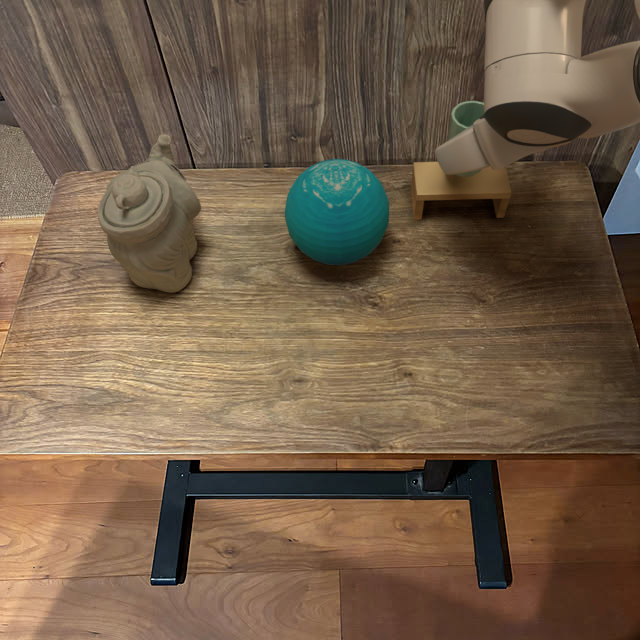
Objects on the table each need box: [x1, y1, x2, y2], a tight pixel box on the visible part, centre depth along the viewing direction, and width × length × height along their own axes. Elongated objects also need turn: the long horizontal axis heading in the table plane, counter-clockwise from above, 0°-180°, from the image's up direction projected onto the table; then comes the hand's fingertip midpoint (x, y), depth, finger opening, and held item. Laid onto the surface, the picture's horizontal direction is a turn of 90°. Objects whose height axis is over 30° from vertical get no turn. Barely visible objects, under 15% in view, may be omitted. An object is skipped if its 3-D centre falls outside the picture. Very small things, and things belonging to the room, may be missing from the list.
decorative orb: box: [284, 158, 390, 266], centre depth 89 cm, size 15×15×15 cm
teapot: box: [97, 133, 202, 293], centre depth 88 cm, size 16×15×19 cm
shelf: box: [410, 161, 512, 221], centre depth 97 cm, size 14×7×6 cm, turn 90°
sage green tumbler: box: [446, 100, 484, 177], centre depth 89 cm, size 6×6×9 cm
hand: (465, 136), depth 89 cm, fingers closed on sage green tumbler, 6 cm apart
